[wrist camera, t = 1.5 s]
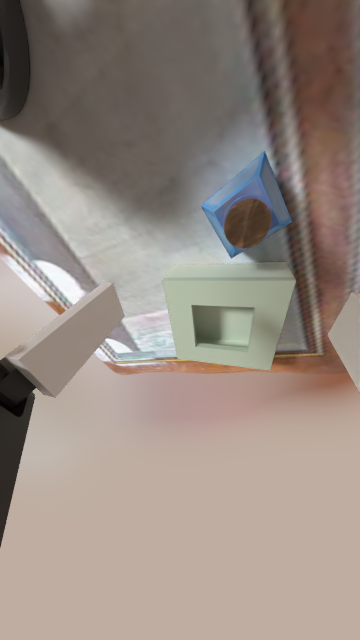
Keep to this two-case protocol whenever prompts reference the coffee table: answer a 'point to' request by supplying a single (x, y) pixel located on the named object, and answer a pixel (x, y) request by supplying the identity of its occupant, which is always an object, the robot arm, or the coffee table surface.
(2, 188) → the coffee table surface
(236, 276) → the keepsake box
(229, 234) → the perfume bottle
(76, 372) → the robot arm
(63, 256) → the coffee table surface
